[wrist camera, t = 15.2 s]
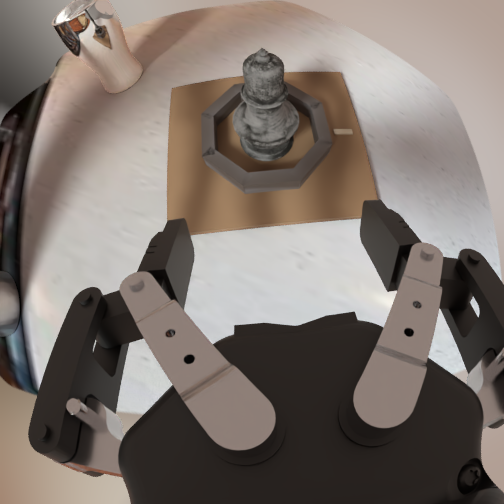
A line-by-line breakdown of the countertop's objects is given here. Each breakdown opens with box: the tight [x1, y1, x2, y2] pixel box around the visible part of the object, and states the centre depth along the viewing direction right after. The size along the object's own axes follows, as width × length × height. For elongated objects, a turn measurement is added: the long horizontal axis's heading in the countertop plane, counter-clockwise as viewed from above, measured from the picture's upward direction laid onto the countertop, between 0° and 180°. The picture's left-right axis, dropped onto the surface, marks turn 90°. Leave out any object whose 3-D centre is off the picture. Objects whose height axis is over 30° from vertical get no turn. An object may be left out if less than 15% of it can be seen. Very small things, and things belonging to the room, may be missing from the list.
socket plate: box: [167, 72, 378, 235], centre depth 26 cm, size 20×18×3 cm
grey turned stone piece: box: [233, 48, 299, 161], centre depth 20 cm, size 6×6×12 cm
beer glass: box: [52, 0, 143, 94], centre depth 23 cm, size 7×7×15 cm
